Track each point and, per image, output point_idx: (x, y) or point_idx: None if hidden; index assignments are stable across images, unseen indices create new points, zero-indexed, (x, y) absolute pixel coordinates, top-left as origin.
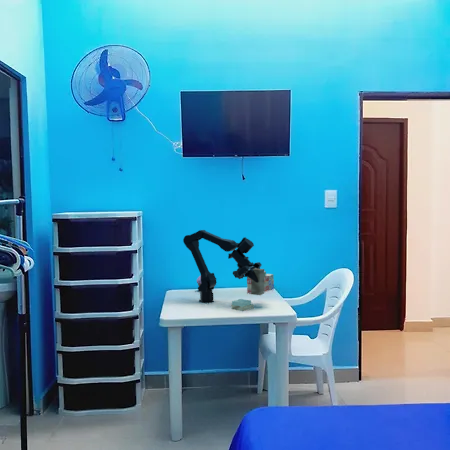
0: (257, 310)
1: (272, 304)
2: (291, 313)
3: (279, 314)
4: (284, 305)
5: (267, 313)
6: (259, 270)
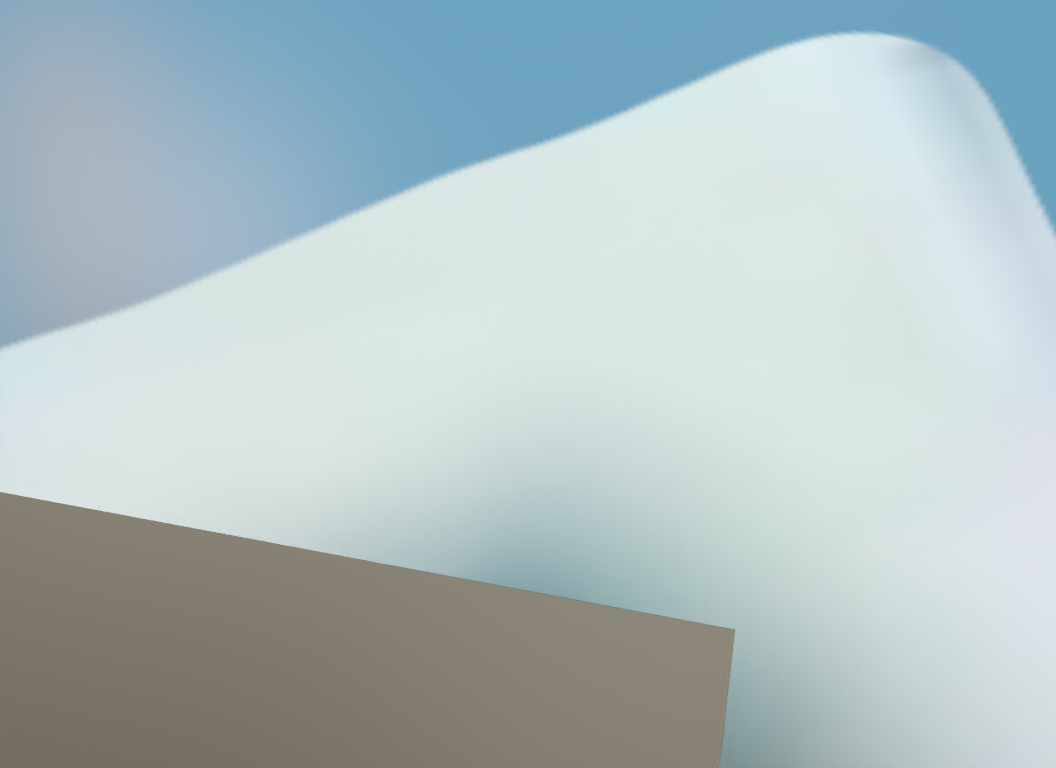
0: (791, 619)
1: (235, 472)
2: (809, 40)
3: (940, 186)
4: (280, 254)
5: (948, 383)
6: (719, 718)
